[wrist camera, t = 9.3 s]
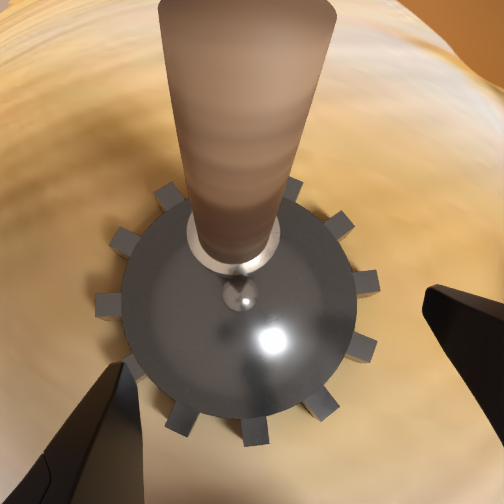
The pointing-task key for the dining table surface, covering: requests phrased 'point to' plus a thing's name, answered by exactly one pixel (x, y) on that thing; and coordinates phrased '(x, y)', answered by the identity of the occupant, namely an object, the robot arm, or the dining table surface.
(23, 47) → the dining table surface
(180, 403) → the sprocket plate
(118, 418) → the robot arm
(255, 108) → the brown cylinder
